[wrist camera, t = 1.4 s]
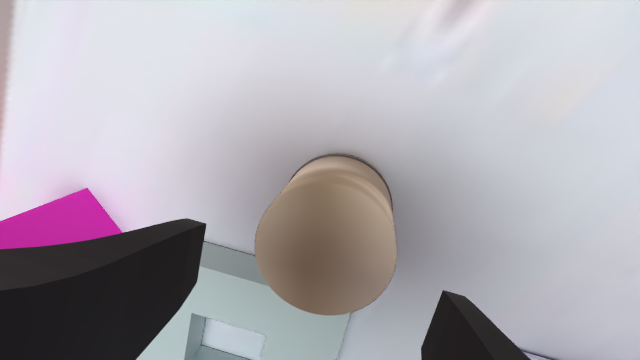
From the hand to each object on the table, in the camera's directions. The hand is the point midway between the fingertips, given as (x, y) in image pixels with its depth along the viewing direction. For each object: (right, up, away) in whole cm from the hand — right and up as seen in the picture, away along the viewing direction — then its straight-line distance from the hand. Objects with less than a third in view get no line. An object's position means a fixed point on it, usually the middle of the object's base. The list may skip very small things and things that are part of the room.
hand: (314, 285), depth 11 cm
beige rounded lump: (+1, +2, +9) cm, 9 cm away
